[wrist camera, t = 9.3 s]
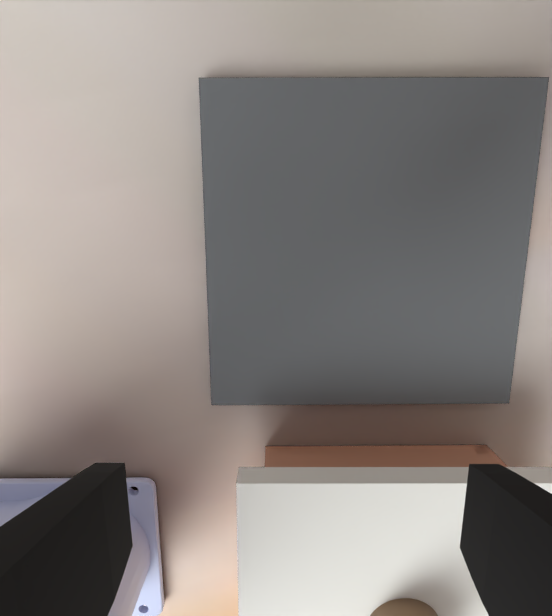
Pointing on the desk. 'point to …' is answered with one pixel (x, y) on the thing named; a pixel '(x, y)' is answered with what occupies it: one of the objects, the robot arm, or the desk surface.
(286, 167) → the mat
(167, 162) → the desk surface
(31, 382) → the desk surface
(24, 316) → the desk surface
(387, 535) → the lid
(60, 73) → the desk surface
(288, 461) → the dish
